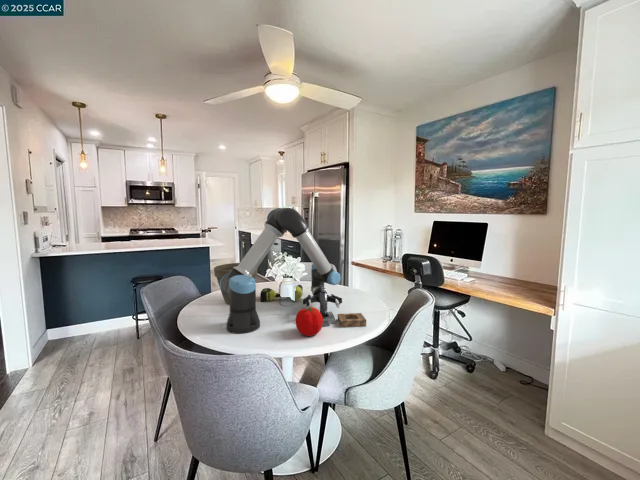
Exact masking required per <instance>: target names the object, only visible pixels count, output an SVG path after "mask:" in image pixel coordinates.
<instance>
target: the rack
mask: <svg viewBox="0 0 640 480" xmlns="http://www.w3.org/2000/svg"><path fill="white" fill-rule="evenodd" d="M336 316H337V321H338V324H339V326H340V328H356V327H358V328H361V327H367V319H366V318H365V316H364V315H363V314H362V312H353V313H352V312H351V313H349V312H348V313H337V315H336Z"/></svg>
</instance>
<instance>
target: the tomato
mask: <svg viewBox="0 0 640 480" xmlns="http://www.w3.org/2000/svg"><path fill="white" fill-rule="evenodd" d="M322 323H323V317H322V315H321V313H320V309H318V308H316V307H313V306H311V307H309V306H308V307H307V308H306V307H303V308H301V309H300V310H299V311H298V312H297V313H296V315H295V325H296V329H297V331H298V332H299V333H300V334H301V335H303V336H307V337H311V336H316V335H317V334H319V333H320V331H321V329H322V328H323V327H322Z"/></svg>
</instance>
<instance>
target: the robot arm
mask: <svg viewBox="0 0 640 480" xmlns="http://www.w3.org/2000/svg"><path fill="white" fill-rule="evenodd" d="M263 225H264V229H263V230H262V231H261V233H260V234H259V235H258V237H257V238H256V240H254V243H253V244H252V245H251V247H250V248H249V250H248V251H247V253H245V255H244V256H243V258H242V260H241V261H240V262H239V263H240V264H239V265H238V266H236V267H233V268H232V270H231V271H230V272H229V273H228V274H226V275H224V276H223V277H222V279H221V281H220V286H219V289H220V292H221V291H222V292H221V294H222V293H223V294H224V295H225V296H227V297H228V298H229V299H230V304H229V315H228V317H227V321H226V324H225V325H226V328H225V329H226V331H227V330H228V332H229V331H230V332H229V333H232V332H235V333H234V334H246V333H250V332H251V333H252V332H254V331H256V330H258V329H259V328H260V327H261V320H260V318H259V315H258V312H257V300H256V299H257V297H256V296H257V294H256V293H257V291H256V289H257V285H256V278H255V279H254V278H253V277H252V275H253V273H254V272H255V270H256V269H257V267H259V266H260V265H261V263H262V262H263V261H264V259H265V257H266V256H267V255H268V253H269V251H271V249H272V247H273V246H274V244H275V243H276V242H277V240H278V239H279V238H283V236H284V235H285V234H286V233H289V234H290V235H291V236H292V238H294V239H296V241H297V242H298V243H299V244H300V246H301V248H302V250H303V251H304V252H305V254H306V255H307V256H308V258H309V259H310V261H311V263H312V265H311V271H310V272H311V287H310V291H311V294H312V295H310V294H307V296H306V297H305V298H303V299H302V305H306V306H305V307H308V308H309V307H312V304H313V303H314V304H315V303H319V304H320V292H321V288H325V283H326V284H328V285H330V286H337V285H338V284H339V283H340V281H341V274H340V273H339V272H338V271H336V270H334V268H333V267H332V266H331V264H330V262H329V261H328V259H327V256H326V255H325V254H324V251H322V249H321V247H320V246H319V245H318V243H317V241H316V240H315V238H314V237H313V235H312V233H311V232H310V230H309V229H310V226H309V225H308V223H307V221H306V220H305V218H304V217H303V216H302V215H301V213H299V211H297V210H296V209H294V208H292V207H276V208H274V209H272V210H270V211H269V212H268V214H267V216H266V221H265V222H264V224H263ZM327 303H333V304H335V306H336V308H337V309H340V305H341V304H342V303H343V298H342V297H339V296H337V295H334V294H330V295H329V294H327Z"/></svg>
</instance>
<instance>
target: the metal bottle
mask: <svg viewBox="0 0 640 480" xmlns="http://www.w3.org/2000/svg"><path fill="white" fill-rule="evenodd" d="M327 295H328V292H327V288H326V287H324V288H321V292H320V303H319V312H320V313H321V315H322V317H327V312H328V302H327Z"/></svg>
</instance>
